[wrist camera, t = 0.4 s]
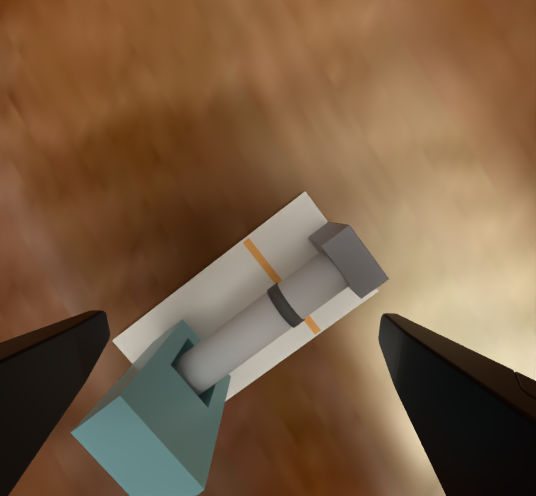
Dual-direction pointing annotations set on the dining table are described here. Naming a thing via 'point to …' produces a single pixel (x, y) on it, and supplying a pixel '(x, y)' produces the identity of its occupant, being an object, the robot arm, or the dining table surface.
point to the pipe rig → (263, 298)
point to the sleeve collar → (156, 423)
